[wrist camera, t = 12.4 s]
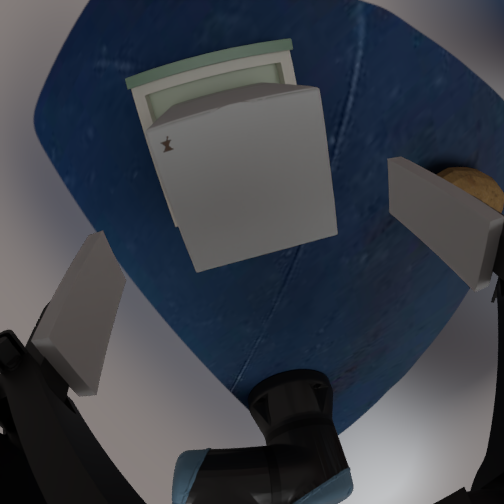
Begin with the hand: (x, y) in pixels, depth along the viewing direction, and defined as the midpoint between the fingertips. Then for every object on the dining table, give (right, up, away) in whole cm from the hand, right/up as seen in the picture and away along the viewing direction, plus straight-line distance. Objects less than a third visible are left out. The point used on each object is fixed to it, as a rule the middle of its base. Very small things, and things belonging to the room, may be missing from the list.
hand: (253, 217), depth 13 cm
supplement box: (-2, +10, +15) cm, 18 cm away
